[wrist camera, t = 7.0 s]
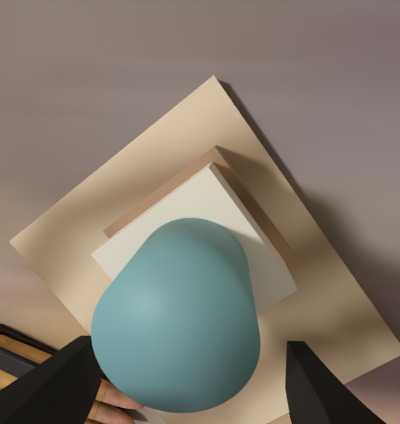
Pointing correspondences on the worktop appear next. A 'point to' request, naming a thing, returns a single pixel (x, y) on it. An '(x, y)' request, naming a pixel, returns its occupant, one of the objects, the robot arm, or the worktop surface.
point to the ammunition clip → (36, 353)
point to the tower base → (237, 187)
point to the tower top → (213, 211)
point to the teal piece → (180, 320)
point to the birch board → (273, 207)
